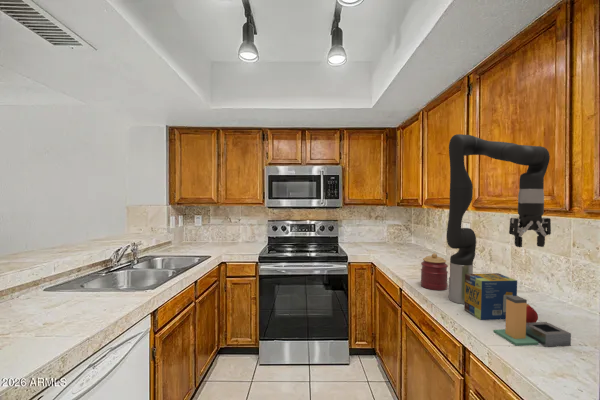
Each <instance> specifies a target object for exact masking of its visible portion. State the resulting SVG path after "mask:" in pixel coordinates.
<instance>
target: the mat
mask: <svg viewBox="0 0 600 400" xmlns="http://www.w3.org/2000/svg"><path fill="white" fill-rule="evenodd" d="M505 330H506V328H504V329H503V328H502V329H500V328H499V329H493V333H494V334H495V335H498V336H499V337H501V338H502V339H504V340H506V341H508V342H509V343H511V344H512V345H514V346H516V347H520V346H521V347H522V346H538V345H539V342H537V341H535V340H533V339H532V338H530V337H528V336H526V338H522V339H514V338H512V337H511V336H509V335H507V334H506V333H505Z"/></svg>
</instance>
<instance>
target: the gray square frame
mask: <svg viewBox="0 0 600 400" xmlns="http://www.w3.org/2000/svg"><path fill="white" fill-rule="evenodd" d="M526 336H528V337H530V338H532V339H533V340H535V341H537V342H539V344H540V345H541V346H544V347H545V348H550V347H553V348H554V347H569V346H571V344H572V342H571V341H572V332H568V330H567V331H566V330H565V329H563V328H560V327H558V326H557V325H554V324H552V323H549V322H547V321H537V322H532V323H526Z"/></svg>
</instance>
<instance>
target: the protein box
mask: <svg viewBox="0 0 600 400" xmlns="http://www.w3.org/2000/svg"><path fill="white" fill-rule="evenodd" d="M506 296H518V280H517V279H515V278H511V277H509V276H506V275H504V274H502V273H499V272H498V273H497V272H496V273H491V272H490V273H473V274H465V304H463V305H464V311H466V312H467V313H469V314H470V315H472V316H474V317H475V318H477V319H478V320H480V321H491V320H492V321H493V320H506Z"/></svg>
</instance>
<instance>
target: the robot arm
mask: <svg viewBox="0 0 600 400" xmlns="http://www.w3.org/2000/svg"><path fill="white" fill-rule="evenodd" d="M465 156H485V157H489V158H490V159H495V160H498V161H503V162H509V163H512V164H516V165H520V166H527V167H528V168H527V170H526V172H523V173H521V174H520V175H519V183H518V185H519V186H518V188H519V189H518V194H517V195H518V197H517V214H518V218H517V217H510V219H509V228H508V229H509V230H508V234H510V235H512V236H514V246H515V247H516V248H522V247H523V235H524V234H525V233H526V232H527V231H534V232H535V233H536V234H537V236H536V246H537V247H538V248H539V247H540V248H544V247H545V244H546V237H547V236H550V235H551V234H552V225H551V223H552V222H551V221H552V220H551V218H549V217H543V216H544V215H545V213H544V212H545V191H544V189H545V188H544V187H545V185H544V183H545V182H544V181H545V180H544V179H545V175H546V173H547V170H548V167H549V164H550V157H551V156H550V152H549V150H548V149H547V148H546V147H544V146H540V145H538V146H537V145H525V144H517V143H513V142H508V141H492V140H487V139H483V138H480V137H477V136H474V135H471V134H461V133H458V134H457V133H456V134H454V135H452V137H451V138H450V140H449V143H448V157H449V158H448V159H449V176H450V177H449V180H450V181H449V207H448V221H447V229H446V243H447V244H448V245H447V246H449V247H450V248H451V249H457V250H458V251H457V252H456V253H453V254H452V255H451V256H450V257H449V258H450V260H449V277H448V298H449V299H448V300H450V301H451V302H453V303H456V304H463V305H465V274H474V260H475V258H476V248H477V247H476V245H477V237H476V236H477V235H476V233H475V230H473V229H472V228H471V227H462V222H463V219H464V218H463V217H464V215H465V213H467V210H468V209H469V207H470V205H471V203H472V201H473V194H474V191H473V188H474V186H473V182H472V179H471V177H470V175H469V173H468V172H467V169H466V166H465Z"/></svg>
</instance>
